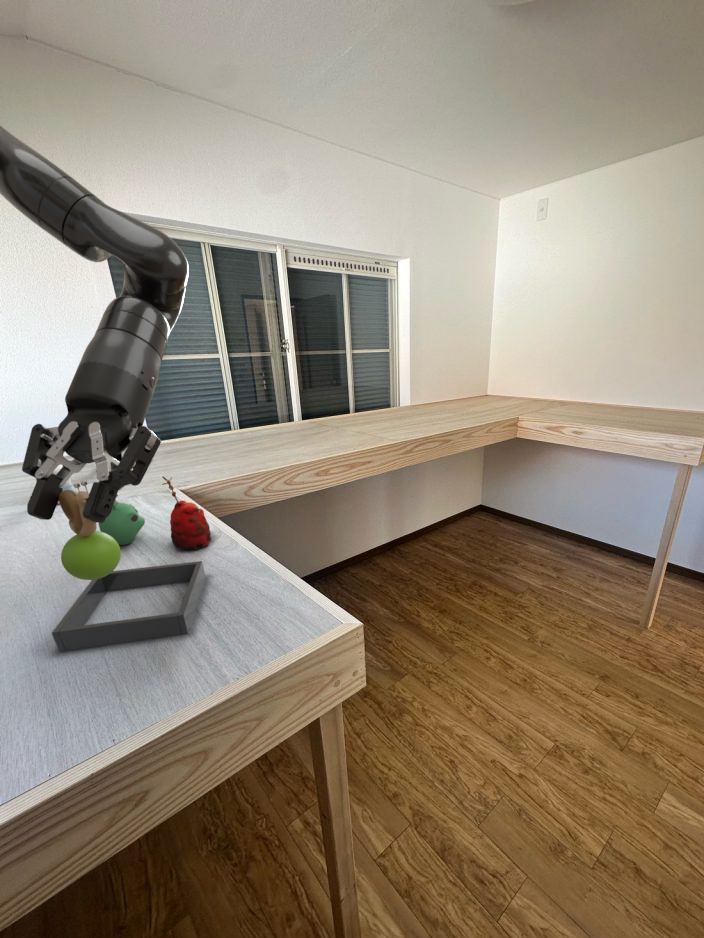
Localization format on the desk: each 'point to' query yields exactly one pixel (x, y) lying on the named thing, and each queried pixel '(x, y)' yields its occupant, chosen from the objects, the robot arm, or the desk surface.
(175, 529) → the red bumpy rounded piece
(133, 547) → the desk surface
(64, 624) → the grey open frame
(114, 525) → the alien toy
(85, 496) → the snail figurine
